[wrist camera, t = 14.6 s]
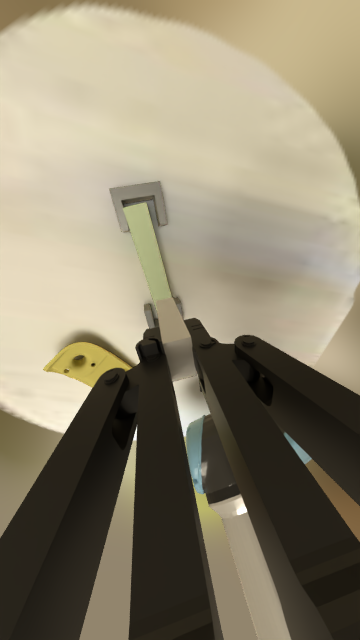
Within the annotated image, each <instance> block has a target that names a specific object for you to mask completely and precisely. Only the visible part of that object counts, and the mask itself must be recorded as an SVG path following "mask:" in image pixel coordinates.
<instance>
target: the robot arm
mask: <svg viewBox="0 0 360 640" xmlns="http://www.w3.org/2000/svg"><path fill="white" fill-rule="evenodd" d="M156 308H157V314H158V320H159V327H155V328H151V329H146V331H145V332H144V334H143V340H141V341H139V342H138V343H137V345H136V347H135V348H136V351H137V354H138V357H139V360H140V363H139V364H138V365H137V366H135V367H133V368H132V369H130V370H128V371H126V372H125V370H124V369H123V368H112V369H110V370H108V371H106V372H105V373H103V374H102V375H101V376H100V377H99V379H98V380H97V382H96V383H95V385H94V387H93V388H92V390H91V391H90V393H89V395H88V396H87V398H86V400H85V401H84V403H83V404H82V406H81V408H80V409H79V411H78V413H77V414H76V416H75V417H74V419H73V421H72V422H71V424H70V426H69V427H68V429H67V431H66V432H65V434H64V436H63V437H62V439H61V440H60V442H59V444H58V445H57V447H56V448H55V450H54V452H53V453H52V455H51V457H50V458H49V460H48V461H47V463H46V465H45V466H44V468H43V470H42V471H41V473H40V474H39V476H38V478H37V479H36V481H35V483H34V484H33V486H32V488H31V489H30V491H29V492H28V494H27V496H26V497H25V499H24V501H23V502H22V504H21V506H20V507H19V509H18V510H17V512H16V514H15V515H14V517H13V518H12V520H11V522H10V523H9V525H8V527H7V528H6V530H5V531H4V533H3V535H2V536H1V538H0V640H79V638H80V634H81V630H82V627H83V623H84V619H85V615H86V612H87V608H88V605H89V601H90V597H91V594H92V590H93V586H94V582H95V579H96V575H97V571H98V568H99V564H100V560H101V556H102V553H103V549H104V545H105V542H106V538H107V534H108V530H109V527H110V522H111V519H112V516H113V512H114V508H115V505H116V501H117V497H118V493H119V490H120V486H121V482H122V479H123V475H124V471H125V467H126V464H127V460H128V456H129V453H130V449H131V445H132V441H133V438H134V434H135V430H136V427H137V448H136V474H135V500H134V524H133V550H132V575H131V576H132V577H131V602H130V626H129V640H224V639H223V634H222V630H221V625H220V620H219V616H218V611H217V606H216V600H215V595H214V590H213V585H212V580H211V575H210V570H209V564H208V559H207V554H206V549H205V544H204V539H203V534H202V529H201V524H200V519H199V513H198V508H197V504H196V498H195V493H194V488H193V483H194V487H195V489H196V491H197V492H198V493H201V494H204V493H206V497H207V501H208V504H209V507H211V508H212V509H213V510H214V511H216V512H217V513H218V514H219V515H220V516H221V518H222V521H223V525H224V528H225V531H226V535H227V538H228V541H229V545H230V548H231V551H232V554H233V558H234V561H235V564H236V568H237V571H238V574H239V578H240V581H241V585H242V588H243V591H244V595H245V598H246V601H247V604H248V608H249V611H250V615H251V618H252V621H253V625H254V628H255V631H256V635H257V638H258V640H360V542H359V541H358V539H357V538H356V537H355V535H354V534H353V533H352V531H351V530H350V528H349V527H348V526H347V524H346V523H345V521H344V520H343V518H342V517H341V515H340V514H339V513H338V511H337V510H336V508H335V507H334V505H333V504H332V503H331V501H330V500H329V498H328V497H327V495H326V494H325V493H324V491H323V490H322V488H321V487H320V486H319V484H318V483H317V481H316V480H315V478H314V477H313V476H312V474H311V473H310V471H309V470H308V468H307V467H306V466H305V464H306V463H307V462H308V461H310V460H311V459H313V460H314V461H315V462H316V463H317V464H318V465H319V466H320V467H321V468H322V469H323V470H324V471H325V472H326V473H327V474H328V475H329V476H330V477H331V478H332V479H333V480H334V481H335V482H336V483H337V484H338V485H339V486H340V487H341V488H342V489H343V490H344V491H345V492H346V493H347V494H348V495H349V496H350V497H351V498H352V499H353V500H354V501H355V502H356V503H357V504H358V505H359V506H360V395H358V394H356V393H354V392H353V391H351V390H349V389H347V388H346V387H344V386H342V385H340V384H339V383H337V382H335V381H333V380H331V379H330V378H328V377H326V376H325V375H323V374H321V373H319V372H318V371H316V370H314V369H312V368H311V367H309V366H307V365H305V364H304V363H302V362H300V361H298V360H297V359H295V358H293V357H291V356H290V355H288V354H286V353H284V352H283V351H281V350H279V349H277V348H275V347H274V346H272V345H270V344H268V343H267V342H265V341H263V340H261V339H260V338H258V337H255V336H251V335H242V336H239V337H237V338H236V339H235V341H234V343H235V344H221V343H219V342H218V341H217V340H216V339H215V338H212V337H210V335H209V334H208V332H207V331H206V329H205V328H204V326H203V325H202V323H201V322H200V320H198V319H196V318H192V319H187V320H183V318H182V316H181V314H180V312H179V310H178V308H177V306H176V303H175V301H174V299H173V297H171V298H166V299H162V300H157V301H156ZM196 371H197V372H196ZM197 374H198V377H199V384H200V391H201V392H202V391H203V394H204V396H205V399H206V402H207V405H208V407H209V410H210V413H211V414H209V415H207V416H205V415H204V416H202V418H200V419H198V420H195V421H193V422H191V423H190V424H189V426H188V428H187V433H186V444H187V453H186V447H185V442H184V437H183V432H182V427H181V421H180V416H179V411H178V406H177V401H176V396H175V391H174V387H173V382H174V381H178V380H181V379H185V378H189V377H193V376H196V375H197ZM187 455H188V457H187ZM190 472H191V473H190ZM191 476H192V478H193V483H192V478H191Z"/></svg>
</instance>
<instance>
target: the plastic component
mask: <svg viewBox="0 0 360 640" xmlns="http://www.w3.org/2000/svg"><path fill="white" fill-rule="evenodd" d="M78 355H84V357H83V358H82V359H80V360H75V359H74V357H76V356H78ZM92 363H95V365H94V366H91V364H92ZM112 368H123V369H124V370H125V372H126V371H128V370H130V369H132V367H131V366H129V365H128V364H127V363H125V362H124V361H122V360H121V359H120V358H118V357H117V356H115V355H114V354H112V353H111V352H108V351H107V350H105V349H103V348H102V347H100V346H97V345H95V344H92V343H88V342H77V343H73V344H70V345H68V346H66V347H65V348H64V349H62V350H61V351H60V352H59V353H58V354H57V355H56V356H55V357H54V358H53V359H52V360H51V361H50V362H49V363H48V364H47V365H46V366H45V367H44V369H43V370H44V371H46V372H56V373H60V374H63V375H66V376H68V377H70V378H74V379H76V380H78V381H81V382H83V383H85V384H86V385H88V386H90V387H92V388H93V387H94V385H95V383H96V382H97V380H98V379H99V377H100V376H101V375H102V374H103V373H105V372H106V371H108V370H110V369H112ZM67 369H69V370H67Z"/></svg>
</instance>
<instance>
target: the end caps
mask: <svg viewBox="0 0 360 640" xmlns="http://www.w3.org/2000/svg"><path fill="white" fill-rule="evenodd" d="M109 190H110V193H111V197H112V200H113V204H114V207H115V211H116V214H117V218H118V221H119V225H120V228H121V232H128V231H130V229H129V226H128V223H127V220H126V217H125V214H124V211H123V208H124V204H127V203H133V202H139V201H146V200H152V199H153V200H154V205H155V211H156V216H157V221H158V226H163V225H166V224H167V219H166V213H165V207H164V201H163V195H162V189H161V183H160V181H157V182H151V183H144V184H137V185H131V186H124V187H117V188H110V189H109ZM173 299H174V301H175V303H176V306H177V308H178V310H179V312H180V314H181V316H182V318H183V314H182V308H181V303H180V301H179V299H178V298H173ZM144 312H145V316H146V319H147V323H148V326H149V329H151V328H155V327H159V320H158V319H155V320H154V318H153V314H152V310H151V307H150V304H146V305H144Z"/></svg>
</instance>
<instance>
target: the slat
mask: <svg viewBox="0 0 360 640" xmlns="http://www.w3.org/2000/svg"><path fill="white" fill-rule="evenodd" d="M123 211H124V214H125V217H126V220H127V223H128V226H129V229H130V232H131V235H132V238H133V241H134V244H135V247H136V250H137V253H138V256H139V259H140V262H141V265H142V268H143V271H144V274H145V277H146V280H147V283H148V286H149V289H150V292H151V295H152V298H153V301H154V304H155V307H156V301H157V300H162V299H166V298H171V297H172V296H171V292H170V289H169V285H168V281H167V277H166V274H165V270H164V266H163V263H162V259H161V255H160V251H159V248H158V244H157V240H156V237H155V233H154V229H153V226H152V222H151V218H150V214H149V211H148V207H147V203H146V202H144V203H140V204H136V205H132V206H128V207H124V208H123ZM156 310H157V308H156Z"/></svg>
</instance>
